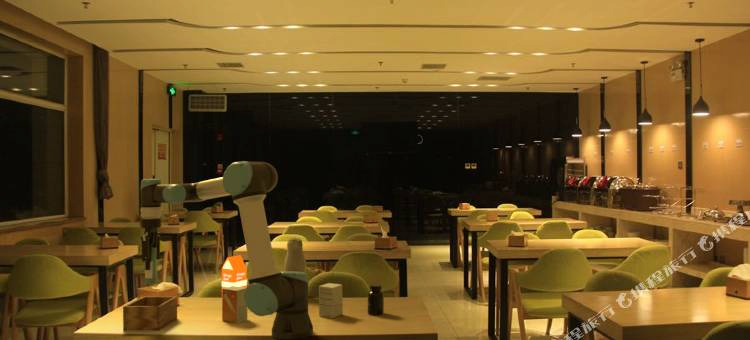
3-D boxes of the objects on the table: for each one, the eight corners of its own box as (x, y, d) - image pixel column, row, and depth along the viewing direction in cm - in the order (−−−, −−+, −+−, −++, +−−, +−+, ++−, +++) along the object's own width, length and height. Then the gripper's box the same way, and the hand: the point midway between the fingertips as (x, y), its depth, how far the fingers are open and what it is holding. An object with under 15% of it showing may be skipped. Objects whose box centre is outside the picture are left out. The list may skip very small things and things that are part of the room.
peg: (157, 283, 229) (157, 248, 229) (147, 284, 227) (147, 249, 227) (154, 282, 232) (154, 247, 232) (144, 283, 230) (144, 247, 230)
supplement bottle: (364, 314, 242) (364, 285, 242) (372, 311, 248) (372, 283, 248) (379, 316, 239) (379, 287, 239) (386, 312, 245) (386, 284, 245)
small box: (221, 320, 234) (221, 288, 234) (233, 317, 239) (232, 285, 239) (237, 323, 230) (236, 290, 230) (247, 319, 235) (247, 287, 235)
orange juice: (246, 297, 277) (246, 255, 277) (233, 301, 270) (233, 258, 270) (235, 295, 281) (234, 254, 281) (221, 299, 274) (221, 256, 274)
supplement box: (328, 312, 246) (328, 282, 247) (343, 314, 243) (343, 284, 243) (318, 316, 240) (318, 285, 240) (333, 318, 236) (332, 287, 236)
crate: (177, 318, 238) (177, 296, 238) (159, 330, 220) (159, 306, 220) (143, 318, 238) (143, 296, 238) (123, 330, 220) (123, 306, 220)
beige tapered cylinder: (309, 295, 282) (308, 237, 282) (300, 299, 272) (300, 239, 272) (290, 294, 284) (290, 236, 285) (281, 298, 275) (281, 239, 275)
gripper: (150, 216, 238) (150, 273, 238) (132, 219, 221) (132, 281, 221) (168, 216, 238) (168, 273, 238) (151, 219, 221) (151, 281, 221)
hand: (151, 276), depth 229 cm, fingers closed on peg, 4 cm apart
